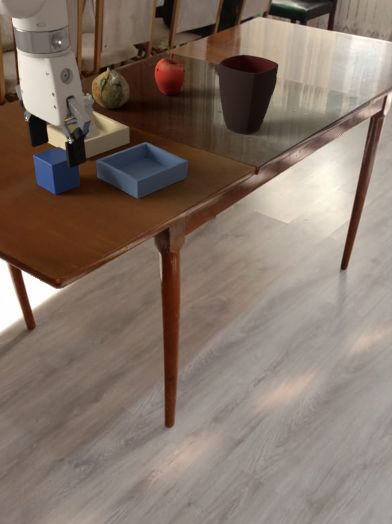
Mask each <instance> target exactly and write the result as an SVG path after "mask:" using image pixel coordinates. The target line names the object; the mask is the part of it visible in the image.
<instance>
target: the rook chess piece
mask: <svg viewBox="0 0 392 524" xmlns="http://www.w3.org/2000/svg"><path fill="white" fill-rule="evenodd" d="M83 99H84V107H85V111H86V113H87V114H88V115H89V116H90V118H91V122H90V126H89V133H88V134H87V135H86V139H84V141H85V140H88V139H91V138H94V137H96V136H99V130H98V129H97V128H96V127H97V126H96V125H95V123H94V118H93V111H95V109H94V108H93V105H94V103H95V99H94V98H93V94H90V93H87V92H86V95H85V93H84V92H83Z"/></svg>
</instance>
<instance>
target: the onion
mask: <svg viewBox="0 0 392 524" xmlns="http://www.w3.org/2000/svg"><path fill="white" fill-rule="evenodd" d="M106 68H107V69H106V71H103V72H102V73H101V74H99V75H98V76H97V77H95V78H94V79H93V80H92V84H91V95H92V98H93V100H94V102H96V103H97V104H98V105H99V106H100V107H102V108H105V109H109V110H112V109H118V108H121V107H123V105H125V104H126V103H127V102H128V101H129V98H130V85H129V83H128V82H127V80H126V79H125V77H124V76H123V75H122V74H121V73H119V72H118V70H116V69H115V68H114V69H112V68H110V67H106Z"/></svg>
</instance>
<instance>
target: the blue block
mask: <svg viewBox="0 0 392 524" xmlns="http://www.w3.org/2000/svg"><path fill="white" fill-rule="evenodd" d="M32 158H33V164H34V170H35V179H36V184H37V185H38V186H39V187H41V188H43V189H45V190H46V191H48V192H49V193H51V194H53V195H55V196H57V195H60V194H62V193H65V192H67V191H69V190H70V191H71V190H72V189H75V188H77V187H80V186H81V177H80V165H77V166H75V167H72V168H71V167H69V166H68V164H67V156H66V150H64V149H62V148H60V147H53V148H50V149H47V150H44V151H42V152H38V153H36V154H33V155H32Z"/></svg>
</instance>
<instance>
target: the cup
mask: <svg viewBox="0 0 392 524" xmlns="http://www.w3.org/2000/svg"><path fill="white" fill-rule="evenodd" d="M278 71H279V64H278V63H277V62H275V61H273V60H270V59H268V58H265V57H260V56H256V55H251V54H238V55H237V54H236V55H233V56H229V57H226V58H224V59H222V60H221V61H220V62H219V63H218V89H219V90H218V91H219V97H220V105H221V111H222V116H223V120H224V124H225V127H226V129H228V130H229V131H231V132H234V133H237V134H241V135H246V136H247V135H251V134H253V133H256V132H258V131H259V130H260V129H261V127H262V124H263V122H264V119H265V117H266V114H267V112H268V109H269V107H270V103H271V100H272V97H273V94H274V92H275V89H276V86H277V81H278Z"/></svg>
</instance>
